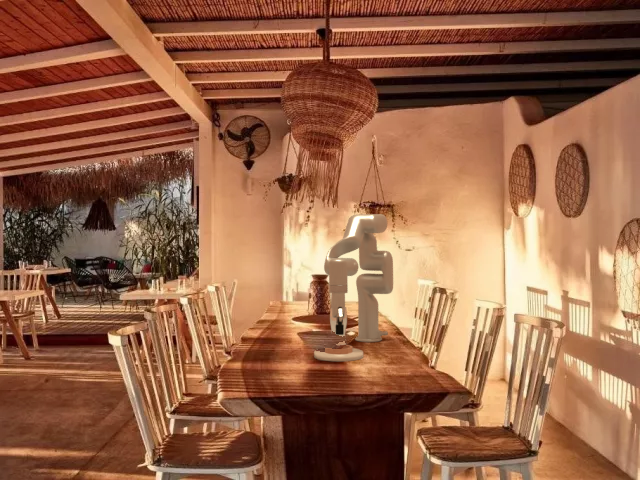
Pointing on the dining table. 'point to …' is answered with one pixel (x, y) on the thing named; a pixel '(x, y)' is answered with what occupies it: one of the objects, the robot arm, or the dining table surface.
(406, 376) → the dining table surface
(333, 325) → the beer glass
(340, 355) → the white plate
